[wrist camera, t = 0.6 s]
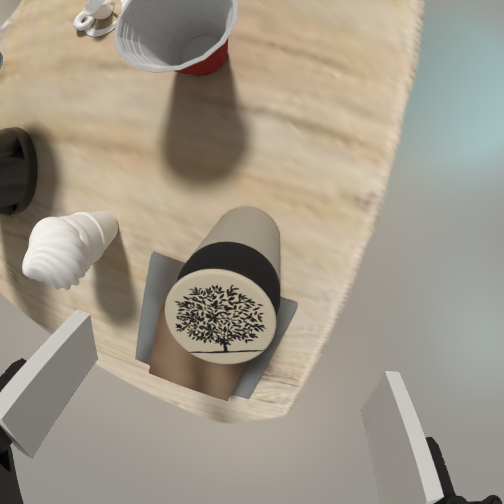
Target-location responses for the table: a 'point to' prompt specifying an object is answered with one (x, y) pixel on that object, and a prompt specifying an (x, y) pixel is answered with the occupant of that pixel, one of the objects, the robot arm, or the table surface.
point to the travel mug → (229, 290)
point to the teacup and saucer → (96, 16)
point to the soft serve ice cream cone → (68, 247)
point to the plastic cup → (175, 34)
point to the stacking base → (158, 298)
